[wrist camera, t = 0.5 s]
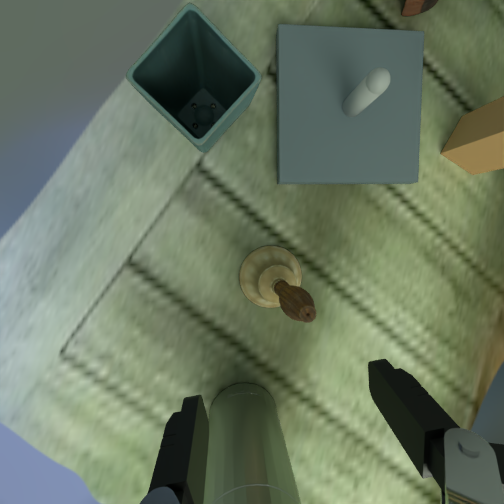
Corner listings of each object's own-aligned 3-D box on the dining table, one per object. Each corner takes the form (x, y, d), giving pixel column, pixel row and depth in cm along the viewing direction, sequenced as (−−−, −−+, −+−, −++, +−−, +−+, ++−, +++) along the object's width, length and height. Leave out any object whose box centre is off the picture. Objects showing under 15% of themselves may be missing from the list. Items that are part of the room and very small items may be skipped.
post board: (409, 183, 35) (464, 170, 27) (277, 184, 33) (293, 170, 25) (415, 40, 33) (475, -21, 25) (276, 33, 32) (292, -34, 24)
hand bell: (248, 238, 34) (265, 247, 18) (308, 254, 35) (375, 275, 19) (232, 299, 34) (235, 360, 19) (291, 313, 35) (343, 382, 19)
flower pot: (207, 169, 33) (199, 147, 24) (152, 118, 32) (122, 74, 23) (254, 117, 33) (264, 75, 24) (201, 64, 31) (190, -1, 23)
